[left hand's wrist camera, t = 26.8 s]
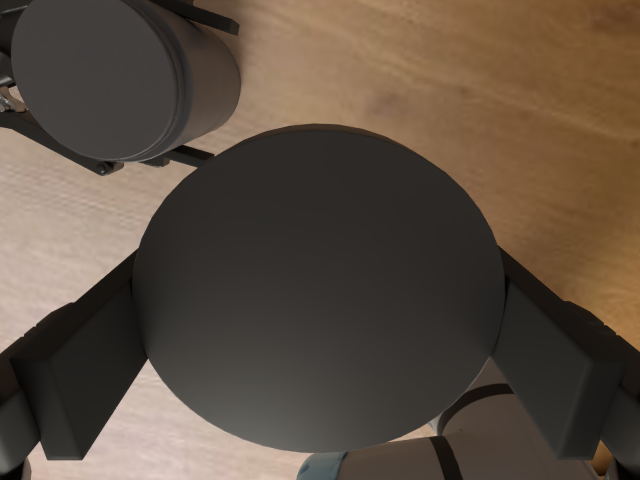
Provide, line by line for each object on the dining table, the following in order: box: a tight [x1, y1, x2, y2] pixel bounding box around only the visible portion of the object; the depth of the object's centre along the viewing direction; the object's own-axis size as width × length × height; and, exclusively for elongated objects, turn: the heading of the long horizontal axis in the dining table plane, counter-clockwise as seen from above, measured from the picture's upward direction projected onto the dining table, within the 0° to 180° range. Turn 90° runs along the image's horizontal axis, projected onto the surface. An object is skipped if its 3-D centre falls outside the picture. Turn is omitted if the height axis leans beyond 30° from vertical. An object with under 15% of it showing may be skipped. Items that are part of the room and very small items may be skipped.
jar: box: [11, 0, 240, 162], centre depth 27 cm, size 9×9×16 cm
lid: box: [132, 124, 506, 453], centre depth 11 cm, size 10×10×2 cm
